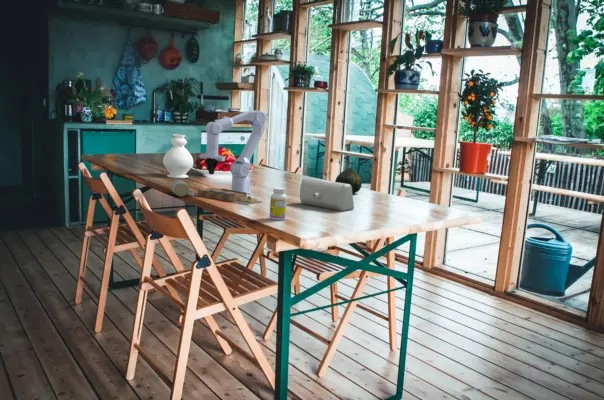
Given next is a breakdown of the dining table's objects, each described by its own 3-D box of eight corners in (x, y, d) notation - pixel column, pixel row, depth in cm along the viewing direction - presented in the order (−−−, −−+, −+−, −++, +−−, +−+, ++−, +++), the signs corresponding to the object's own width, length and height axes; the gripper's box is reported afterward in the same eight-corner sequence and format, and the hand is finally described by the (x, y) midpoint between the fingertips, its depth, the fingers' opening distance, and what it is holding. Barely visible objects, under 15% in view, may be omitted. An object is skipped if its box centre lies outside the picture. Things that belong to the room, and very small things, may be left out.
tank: (291, 205, 268) (293, 179, 266) (311, 201, 281) (312, 177, 279) (336, 213, 254) (338, 186, 252) (354, 209, 267) (356, 183, 265)
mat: (248, 199, 274) (248, 199, 274) (261, 202, 270) (261, 201, 270) (233, 202, 264) (233, 201, 264) (246, 204, 260) (246, 204, 260)
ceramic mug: (174, 197, 267) (175, 181, 266) (170, 194, 274) (171, 178, 273) (196, 197, 272) (197, 181, 270) (192, 194, 279) (192, 179, 278)
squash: (338, 185, 307) (356, 165, 310) (326, 182, 320) (343, 163, 323) (354, 202, 312) (371, 182, 315) (342, 198, 326) (358, 179, 329)
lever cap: (238, 201, 267) (238, 195, 266) (244, 199, 271) (245, 194, 270) (250, 203, 263) (250, 197, 263) (256, 202, 267) (256, 196, 267)
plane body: (198, 195, 276) (198, 188, 275) (211, 193, 284) (211, 186, 284) (233, 202, 265) (234, 194, 264) (246, 199, 273) (246, 192, 273)
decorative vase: (157, 174, 340) (158, 133, 336) (182, 174, 352) (184, 133, 348) (172, 179, 327) (173, 135, 323) (198, 177, 339) (199, 136, 335)
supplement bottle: (269, 217, 235) (270, 186, 233) (284, 217, 236) (286, 187, 234) (269, 220, 229) (271, 189, 227) (285, 221, 230) (287, 189, 227)
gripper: (195, 145, 277) (194, 172, 279) (218, 148, 270) (217, 176, 272) (205, 145, 283) (204, 172, 285) (228, 148, 276) (226, 175, 278)
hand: (211, 174), depth 279 cm, fingers closed
